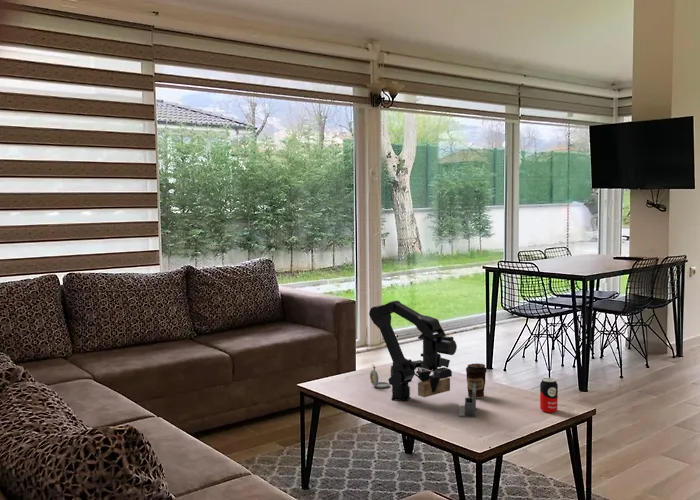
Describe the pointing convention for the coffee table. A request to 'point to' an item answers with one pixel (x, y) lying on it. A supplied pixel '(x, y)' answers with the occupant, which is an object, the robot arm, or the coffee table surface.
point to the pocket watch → (375, 380)
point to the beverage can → (548, 395)
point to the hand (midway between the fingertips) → (430, 390)
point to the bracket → (469, 405)
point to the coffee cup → (476, 379)
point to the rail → (426, 390)
